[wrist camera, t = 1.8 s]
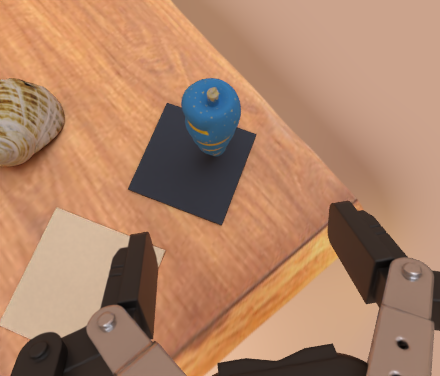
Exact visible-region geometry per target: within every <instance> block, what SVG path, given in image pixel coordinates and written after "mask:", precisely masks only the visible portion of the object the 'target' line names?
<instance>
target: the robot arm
mask: <svg viewBox="0 0 440 376" xmlns="http://www.w3.org/2000/svg"><path fill="white" fill-rule="evenodd" d="M328 238H329V241H330V243H331V245H332V247H333V249H334V250H335V252H336V254H337V256H338V257H339V259H340V261H341V262H342V264H343V266H344V267H345V269H346V271H347V272H348V274H349V276H350V278H351V279H352V281H353V283H354V285H355V286H356V288H357V289H358V291H359V293H360V295H361V296H362V298H363V300H364V302H365V303H366V304H370V303H377V304H378V306H379V312H378V317H377V321H376V325H375V330H374V335H373V339H372V343H371V348H370V352H369V357H368V361H367V363H366V362H364V361H363V360H360V359H358V358H356V357H353V356H350V355H346V354H341V353H336V351H335V348H334V346H333V344H327V345H321V346H315V347H309V348H304V349H302V350H300V351H298V352H296V353H294V354H292V355H290V356H287V357H285V358H283V359H281V360H278V361H269V360H259V359H247V358H245V359H239V360H233V361H227V362H221V363H218V373H216V374H214V375H212V376H431V369H432V355H433V340H434V330H439V331H440V272H438V271H432V270H431V269H430V268H429V267H428V266H427V265H426V264H424V263H423V262H421V261H419V260H416V259H413V258H408V257H407V256H406V255H405V253H404V252H403V251H402V250H401V249H400V247H399V246H398V245H397V244H396V243H395V241H394V240H393V239H392V238H391V237H390V235H389V234H388V233H386V231H385V230H384V228H383V227H381V225H380V224H379V222H378V221H377V220H376V219H375V218H374V217H373V216H372V215H370V214H368V213H367V212H365V211H363V210H361V211H357V210H356V208H355V207H354V206H353V204H352V203H351V202H350V201H343V202H337V203H332V204H331V205H330V209H329V220H328ZM108 276H109V277H108V279H107V283H106V287H105V291H104V295H103V299H102V304H101V307H100V309H99V310H98V311H97V312H95V313H94V314H93V315H92V317H91V318H90V319H89V321H88V323H87V325H86V326H85V327H83V328H81V329H79V330H77V331H75V332H73V333H71V334H68V335H66V336H64V337H62V338H61V337H60V335H58V334H57V333H55V332H45V333H42V334H40V335H37V336H36V337H34V338H33V339H31V340H30V341H29V342H27V344H26V345H25V346H24V347H23V348H22V349H21V351H20V353H19V355H18V357H17V360H16V362H15V365H14V368H13V370H12V373H11V376H186V374H185V373H184V372H183V371H182V370H181V369H180V368H179V366H178V365H177V364H176V363H175V362H174V361H173V359H172V358H171V357H170V356H169V355H168V354H167V353H166V351H165V350H164V349H163V348H162V347H161V346H160V345H159V344H158V343H157V342H156V341H154V342H152V341H151V340H150V339H153V333H154V319H155V305H156V292H157V278H158V262H157V257H156V254H155V251H154V247H153V244H152V241H151V238H150V234H149V232H143V233H137V234H131V235H130V238H129V243H128V247H124V248H119V250H118V251H117V252H116V254H115V255H114V257H113V258H112V263H111V267H110V271H109V275H108Z"/></svg>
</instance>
